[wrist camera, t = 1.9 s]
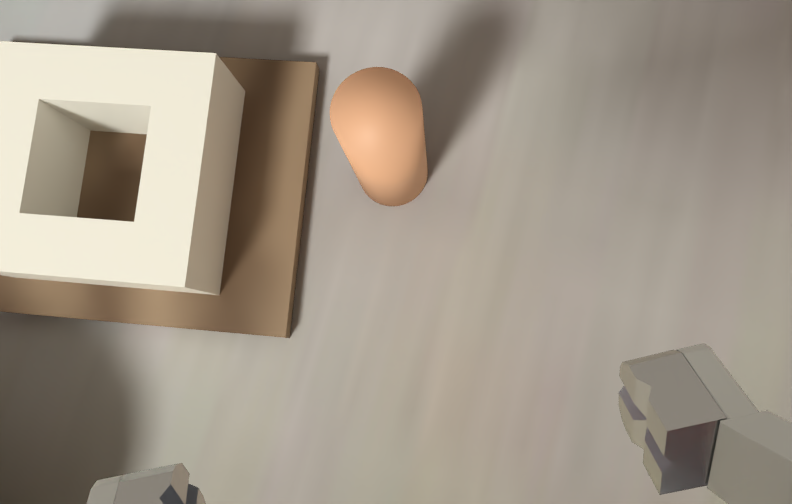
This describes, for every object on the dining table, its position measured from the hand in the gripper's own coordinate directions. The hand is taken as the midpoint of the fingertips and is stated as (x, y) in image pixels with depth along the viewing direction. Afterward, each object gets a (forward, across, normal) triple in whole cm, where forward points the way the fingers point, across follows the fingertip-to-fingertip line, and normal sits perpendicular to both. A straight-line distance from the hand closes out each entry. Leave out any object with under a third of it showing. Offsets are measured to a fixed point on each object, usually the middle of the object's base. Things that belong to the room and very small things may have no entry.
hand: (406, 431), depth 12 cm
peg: (+26, -2, +9) cm, 27 cm away
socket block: (+28, +13, +8) cm, 32 cm away
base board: (+28, +13, +8) cm, 32 cm away
